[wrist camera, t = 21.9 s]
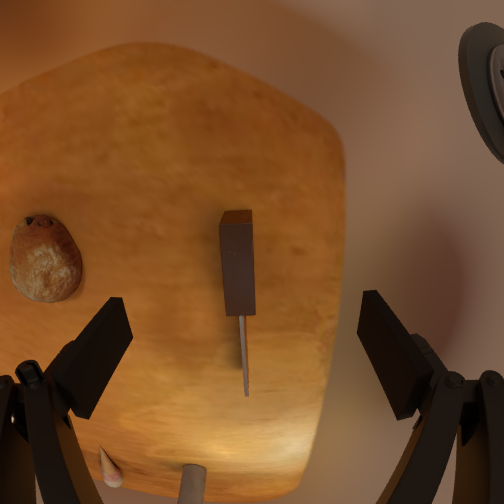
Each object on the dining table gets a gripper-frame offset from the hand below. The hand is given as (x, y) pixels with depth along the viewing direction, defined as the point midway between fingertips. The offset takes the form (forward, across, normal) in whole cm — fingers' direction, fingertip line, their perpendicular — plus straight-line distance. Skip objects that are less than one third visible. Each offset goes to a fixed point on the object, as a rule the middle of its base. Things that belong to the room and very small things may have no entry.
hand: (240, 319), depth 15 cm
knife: (+13, -1, -6) cm, 15 cm away
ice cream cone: (+13, -34, -49) cm, 60 cm away
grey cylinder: (+13, -12, -45) cm, 48 cm away
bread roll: (+13, -23, 0) cm, 27 cm away
